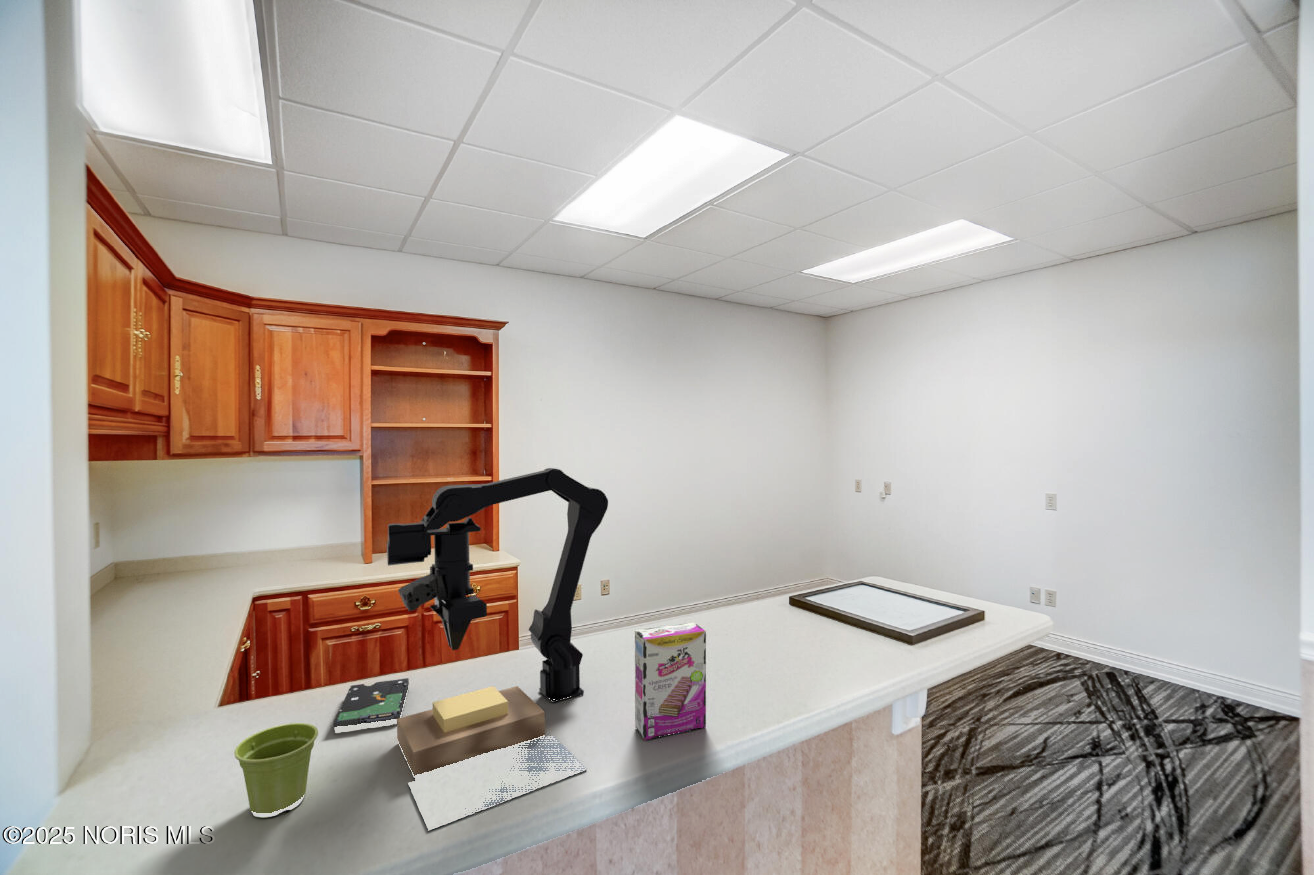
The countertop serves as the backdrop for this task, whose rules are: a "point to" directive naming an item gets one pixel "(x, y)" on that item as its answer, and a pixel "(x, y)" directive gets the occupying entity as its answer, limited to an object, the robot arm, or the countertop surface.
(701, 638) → the candy bar box
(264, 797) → the plant pot
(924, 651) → the countertop surface
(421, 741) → the deck
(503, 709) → the block
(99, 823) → the countertop surface
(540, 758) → the mat
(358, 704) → the disk drive
